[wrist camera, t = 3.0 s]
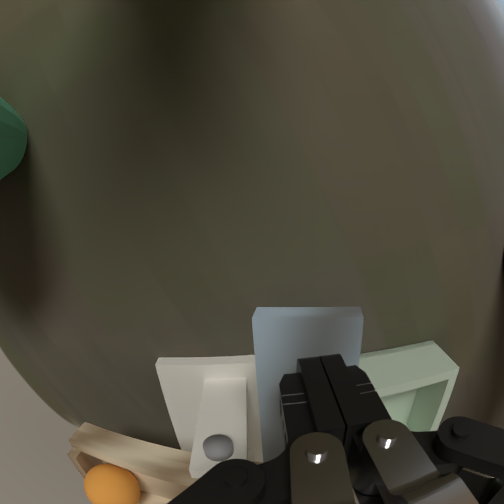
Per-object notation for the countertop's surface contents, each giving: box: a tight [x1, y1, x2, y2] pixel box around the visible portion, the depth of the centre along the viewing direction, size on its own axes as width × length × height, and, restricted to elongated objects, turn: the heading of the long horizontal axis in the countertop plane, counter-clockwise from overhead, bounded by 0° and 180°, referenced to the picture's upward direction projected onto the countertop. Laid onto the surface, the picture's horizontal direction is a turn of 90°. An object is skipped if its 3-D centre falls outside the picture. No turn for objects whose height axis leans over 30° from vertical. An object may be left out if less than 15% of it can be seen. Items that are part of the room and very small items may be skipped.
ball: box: [84, 463, 140, 504], centre depth 14 cm, size 4×4×4 cm
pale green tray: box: [359, 340, 459, 432], centre depth 21 cm, size 10×10×4 cm
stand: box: [155, 355, 263, 478], centre depth 18 cm, size 10×12×10 cm
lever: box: [68, 307, 364, 504], centre depth 13 cm, size 17×17×3 cm
